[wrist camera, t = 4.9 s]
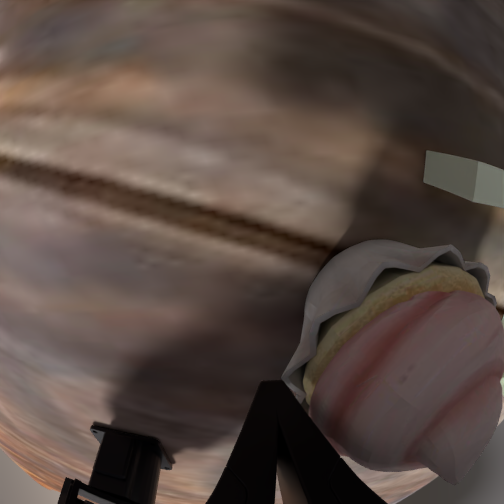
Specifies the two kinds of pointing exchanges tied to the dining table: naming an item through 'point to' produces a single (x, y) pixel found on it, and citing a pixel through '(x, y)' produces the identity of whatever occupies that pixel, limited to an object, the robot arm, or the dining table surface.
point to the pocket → (466, 182)
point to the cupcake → (402, 358)
